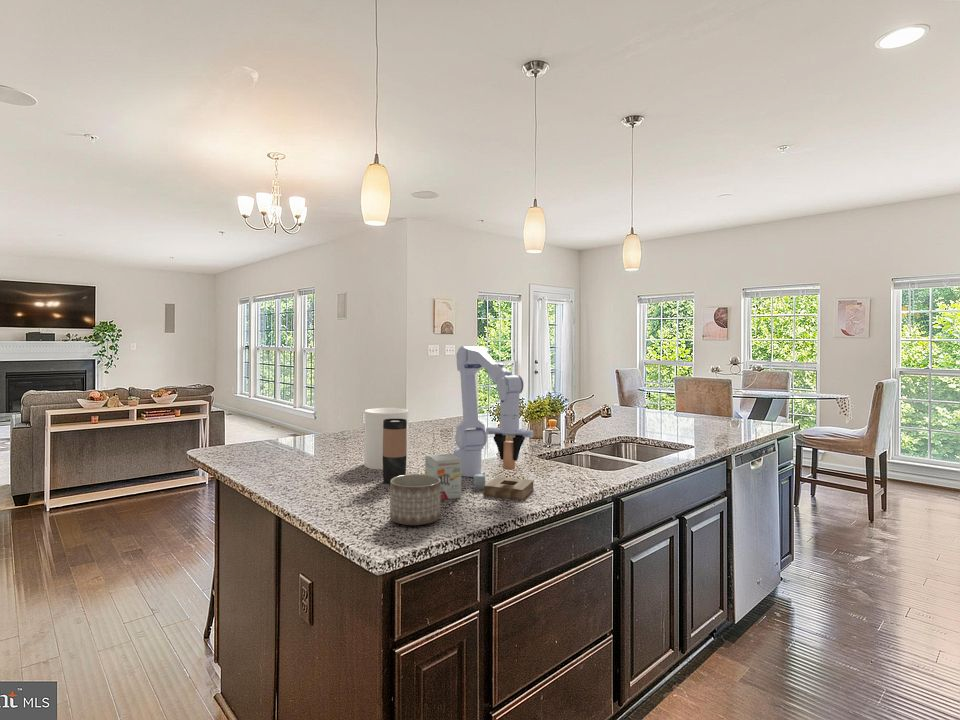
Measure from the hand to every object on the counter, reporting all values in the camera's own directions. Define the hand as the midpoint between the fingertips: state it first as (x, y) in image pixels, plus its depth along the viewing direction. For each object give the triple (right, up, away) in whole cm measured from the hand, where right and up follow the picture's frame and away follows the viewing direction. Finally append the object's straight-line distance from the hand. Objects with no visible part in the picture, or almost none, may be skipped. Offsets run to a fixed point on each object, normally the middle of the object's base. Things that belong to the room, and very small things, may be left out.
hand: (509, 459), depth 163 cm
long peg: (0, -3, 0) cm, 3 cm away
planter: (-25, -11, -27) cm, 38 cm away
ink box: (-20, -10, -4) cm, 23 cm away
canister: (-43, -9, +35) cm, 56 cm away
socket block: (0, -10, 0) cm, 10 cm away
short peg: (-9, -10, +4) cm, 14 cm away
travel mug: (-37, -9, +11) cm, 39 cm away
